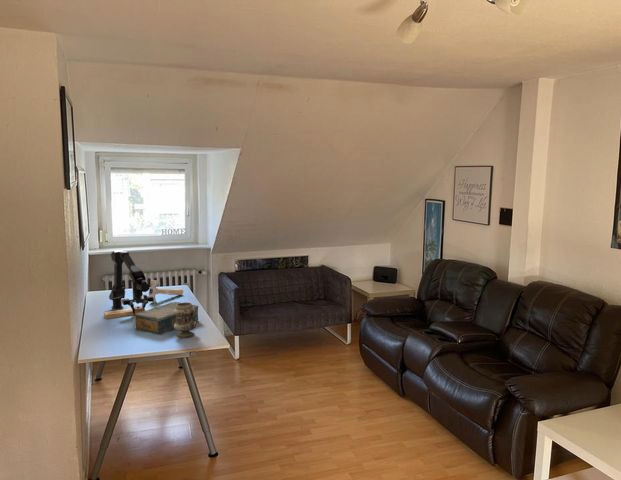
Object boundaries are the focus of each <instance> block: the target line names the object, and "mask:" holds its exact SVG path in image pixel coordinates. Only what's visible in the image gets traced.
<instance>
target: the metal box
mask: <svg viewBox="0 0 621 480" xmlns="http://www.w3.org/2000/svg"><path fill="white" fill-rule="evenodd" d="M178 303H181V302H179V301H172V302H169V303H166V304H162V305H159V306H156V307H153V308H150V309H148V310H145V311H142V312H139V313H136V314H135V316H134V321H135V323H134V324H135V330H136V331H141V332H146V333H151V334H155V335H158V336H159V335H163V334H165V333H168V332H171V331H174V330H176V329H175V328H174V324H175V323H176V315H175V314H174V313H173V311H174V309H175V308H176V304H178ZM192 307H194V308H195V312H194V313H193V320H194V322H195V321H196V322H198V321H199V314H198V313H199V305H195V304H192ZM196 322H195V323H196Z"/></svg>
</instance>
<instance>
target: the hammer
mask: <svg viewBox="0 0 621 480" xmlns="http://www.w3.org/2000/svg"><path fill="white" fill-rule="evenodd" d="M158 284H159V281H158V280H156V279H151V281H150V288H149V290H148V296H152V297H153V298H154V301H153V302H152V303H156V304H157V303H158V302H157V300H156V295H158V294H160V295H170V296H183V294H184V288H176V289H175V288H173V289H172V288H157V286H158Z"/></svg>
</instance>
